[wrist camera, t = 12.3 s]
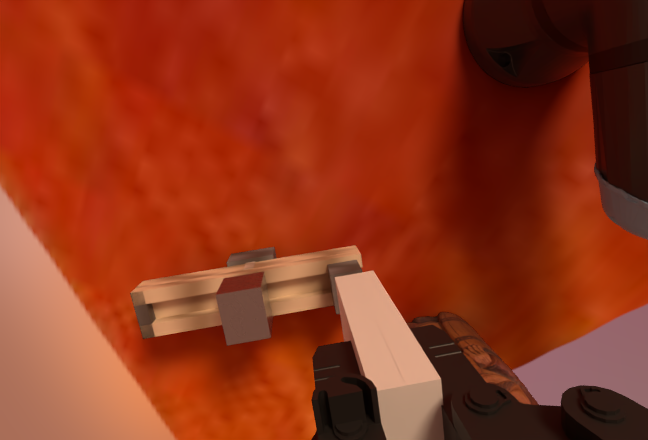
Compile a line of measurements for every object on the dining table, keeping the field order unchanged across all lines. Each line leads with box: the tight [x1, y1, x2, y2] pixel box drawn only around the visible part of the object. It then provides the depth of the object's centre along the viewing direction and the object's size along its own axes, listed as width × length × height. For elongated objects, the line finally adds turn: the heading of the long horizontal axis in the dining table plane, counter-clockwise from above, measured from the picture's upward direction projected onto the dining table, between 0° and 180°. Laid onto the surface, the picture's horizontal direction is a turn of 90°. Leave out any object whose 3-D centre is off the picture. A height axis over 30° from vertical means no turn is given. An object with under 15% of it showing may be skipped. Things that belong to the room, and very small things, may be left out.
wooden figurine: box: [406, 312, 539, 405], centre depth 38 cm, size 12×6×18 cm, turn 98°
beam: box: [130, 245, 362, 339], centre depth 39 cm, size 23×6×9 cm, turn 99°
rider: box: [216, 272, 273, 346], centre depth 35 cm, size 4×5×5 cm
